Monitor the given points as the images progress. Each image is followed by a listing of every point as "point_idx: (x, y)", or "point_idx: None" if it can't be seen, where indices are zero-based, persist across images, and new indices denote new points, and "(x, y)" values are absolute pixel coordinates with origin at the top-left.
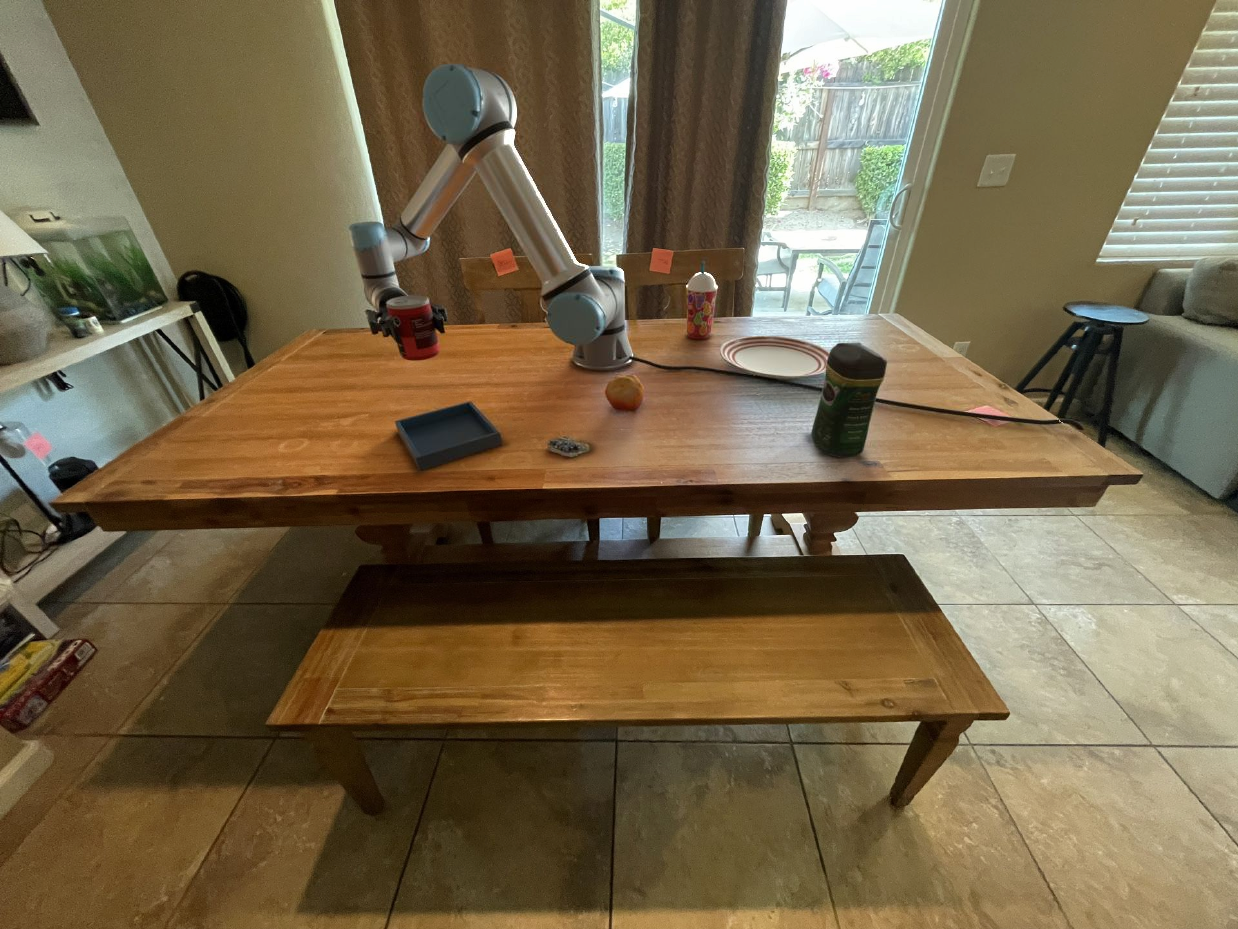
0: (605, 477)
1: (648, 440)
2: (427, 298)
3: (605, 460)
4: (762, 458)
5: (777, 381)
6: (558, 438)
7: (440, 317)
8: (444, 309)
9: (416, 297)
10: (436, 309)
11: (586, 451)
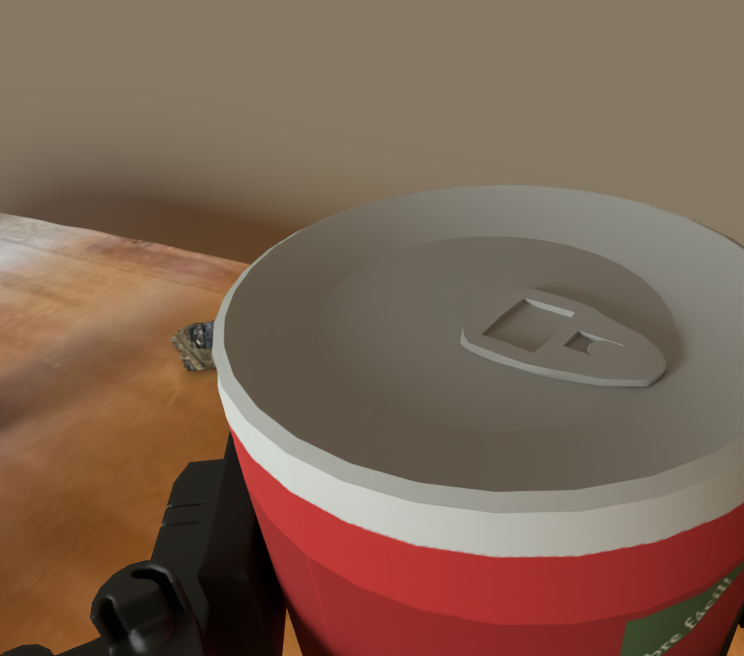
0: (226, 271)
1: (65, 322)
2: (241, 279)
3: (186, 300)
4: (6, 250)
5: None
6: (203, 366)
7: (200, 480)
8: (12, 650)
9: (327, 407)
10: (135, 578)
11: (192, 324)
